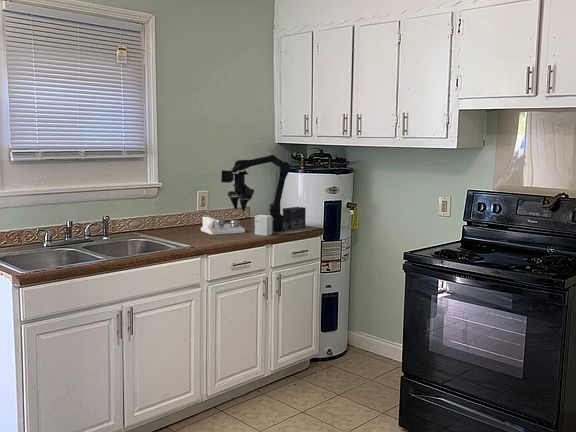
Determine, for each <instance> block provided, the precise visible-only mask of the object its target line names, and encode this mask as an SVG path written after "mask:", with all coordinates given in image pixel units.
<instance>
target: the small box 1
mask: <svg viewBox="0 0 576 432" xmlns="http://www.w3.org/2000/svg"><path fill="white" fill-rule="evenodd" d="M272 222H273V218H272V216H271V215H270V214H269V215H267V214H257V215H255V216H254V235H256V236H265V237H268V236H271V235H273V231H272Z"/></svg>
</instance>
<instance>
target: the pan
mask: <svg viewBox="0 0 576 432" xmlns="http://www.w3.org/2000/svg"><path fill="white" fill-rule="evenodd" d="M218 228H219V229H222V230H224V229H239V228H243V226H241V225H239V226H238V227H232V226H230V223H224V225H223V226H218Z"/></svg>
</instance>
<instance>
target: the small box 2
mask: <svg viewBox="0 0 576 432" xmlns="http://www.w3.org/2000/svg"><path fill="white" fill-rule="evenodd" d="M306 209H307V208H306V207H303V206H293V207H284V208H282V216H283V217H284V219H283V229H284V228H285V229H284V230H290V229H292V230H296V229H297V228H298V229H302V228H306Z"/></svg>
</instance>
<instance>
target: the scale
mask: <svg viewBox="0 0 576 432" xmlns="http://www.w3.org/2000/svg"><path fill="white" fill-rule="evenodd" d="M200 231H201V232H204V233H206V234H209V235H226V234H227V235H228V234H229V235H230V234H242V233H245V232H246V229H245V228H244V227H242V228H239V229H224V230H222V229H219V228H218V222H217V221H216V218H213V217H209V216H203V217H202V226H201V227H200Z"/></svg>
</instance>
